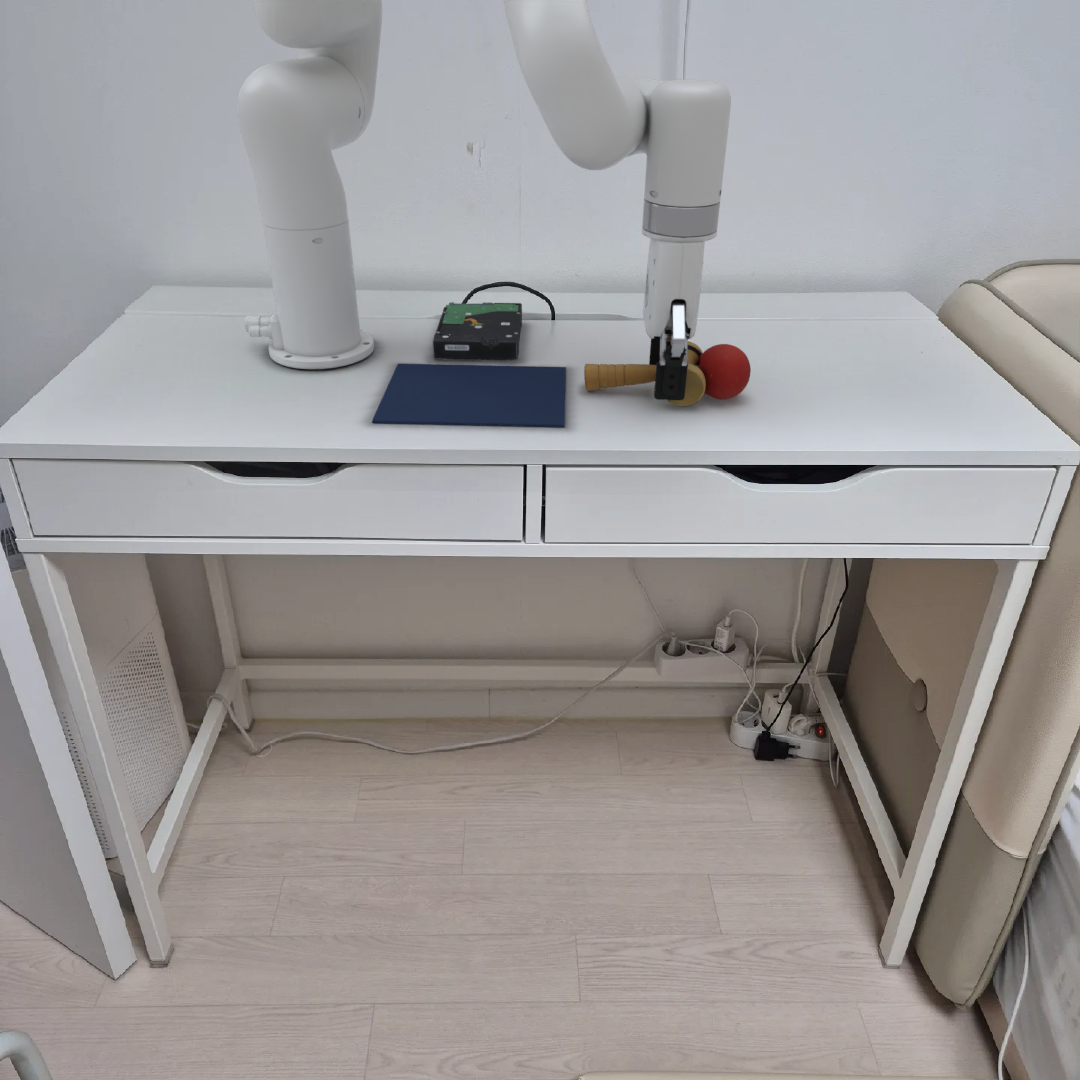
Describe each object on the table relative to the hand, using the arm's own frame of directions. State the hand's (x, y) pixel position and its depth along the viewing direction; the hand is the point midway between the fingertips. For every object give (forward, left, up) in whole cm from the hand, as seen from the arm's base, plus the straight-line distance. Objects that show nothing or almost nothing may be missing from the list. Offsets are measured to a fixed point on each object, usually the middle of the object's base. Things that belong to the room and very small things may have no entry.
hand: (665, 383), depth 99 cm
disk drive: (-22, +16, -2) cm, 27 cm away
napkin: (-21, -1, -1) cm, 21 cm away
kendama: (0, 0, -2) cm, 2 cm away
